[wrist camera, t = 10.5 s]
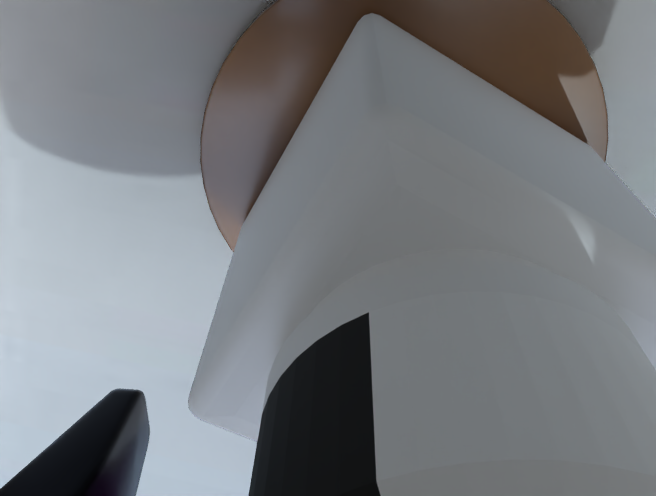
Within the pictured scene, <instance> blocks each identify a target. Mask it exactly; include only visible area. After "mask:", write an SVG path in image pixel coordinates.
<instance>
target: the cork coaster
mask: <svg viewBox="0 0 656 496" xmlns="http://www.w3.org/2000/svg"><path fill="white" fill-rule="evenodd" d="M370 13H373V14H377V15H380V16H382V17H383V18H385V19H387V20H388V21H390V22H392V23H393V24H395V25H396V26H398V27H400V28H401V29H403V30H404V31H406V32H408V33H409V34H411V35H412V36H414V37H416V38H417V39H419V40H420V41H422V42H424V43H425V44H427V45H429V46H430V47H432V48H433V49H435V50H437V51H438V52H440V53H441V54H443V55H445V56H446V57H448V58H449V59H451V60H453V61H454V62H456V63H457V64H459V65H461V66H462V67H464V68H466V69H467V70H469V71H470V72H472V73H474V74H475V75H477V76H478V77H480V78H482V79H483V80H485V81H486V82H488V83H490V84H491V85H493V86H494V87H496V88H498V89H499V90H501V91H503V92H504V93H506V94H507V95H509V96H511V97H512V98H514V99H515V100H517V101H519V102H520V103H522V104H523V105H525V106H527V107H528V108H530V109H531V110H533V111H535V112H536V113H538V114H539V115H541V116H543V117H544V118H546V119H548V120H549V121H551V122H552V123H554V124H556V125H557V126H559V127H560V128H562V129H564V130H565V131H567V132H568V133H570V134H572V135H573V136H575V137H576V138H578V139H580V140H581V141H583V142H585V143H586V144H588V145H589V146H591V147H592V148H593V149H594V150H595V152H596V153H597V154H598V155H599V156H600V157H601V158H602V159H603V160H604V162H605V160H606V152H607V144H608V117H607V109H606V103H605V98H604V92H603V87H602V84H601V82H600V79H599V76H598V73H597V70H596V67H595V64H594V62H593V60H592V58H591V56H590V54H589V52H588V51H587V49H586V47H585V45H584V43H583V41H582V39H581V38H580V37H579V35H578V34H577V33H576V31H575V30H574V29H573V27H572V26H571V25H570V23H569V22H568V21H567V20H566V18H565V17H564V16H563V15H562V14H561V13H560V12H559V11H558V10H557V9H556V8H555V7H554V6H553V5H552V4H550V3H549V2H548V1H547V0H276V1H275V2H274V3H272V4H271V5H270V6H269V7H268V8H267V9H266V10H264V11H263V12H262V13H261V14H260V15H259V16H258V17H257V18H256V19H255V20H254V22H253V23H252V24H251V25H250V26H249V27H248V28H247V30H246V31H245V32H244V33H243V34H242V35H241V37H240V38H239V40H238V41H237V43H236V44H235V46H234V47H233V49H232V50H231V52H230V53H229V55H228V56H227V58H226V59H225V61H224V63H223V65H222V67H221V69H220V71H219V73H218V75H217V78H216V80H215V82H214V84H213V86H212V89H211V92H210V95H209V99H208V102H207V105H206V109H205V112H204V118H203V125H202V132H201V152H200V163H201V170H202V178H203V185H204V189H205V192H206V196H207V200H208V203H209V207H210V210H211V212H212V214H213V217H214V219H215V221H216V223H217V226H218V228H219V230H220V232H221V233H222V235H223V237H224V238H225V240H226V242H227V243H228V245H229V247H230V248H231V250H232V251H233V252H234V249H235V246H236V243H237V240H238V237H239V233H240V230H241V227H242V225H243V223H244V221H245V220H246V218H247V216H248V214H249V213H250V211H251V209H252V207H253V206H254V204H255V202H256V200H257V198H258V197H259V195H260V193H261V191H262V190H263V188H264V186H265V184H266V183H267V181H268V179H269V177H270V176H271V174H272V172H273V170H274V168H275V167H276V165H277V163H278V161H279V160H280V158H281V156H282V154H283V153H284V151H285V149H286V147H287V146H288V144H289V142H290V140H291V139H292V137H293V135H294V133H295V131H296V130H297V128H298V126H299V124H300V123H301V121H302V119H303V117H304V116H305V114H306V112H307V110H308V109H309V107H310V105H311V103H312V101H313V100H314V98H315V96H316V94H317V93H318V91H319V89H320V87H321V86H322V84H323V82H324V80H325V79H326V77H327V75H328V73H329V72H330V70H331V68H332V66H333V64H334V63H335V61H336V59H337V57H338V56H339V54H340V52H341V50H342V49H343V47H344V45H345V43H346V42H347V40H348V38H349V36H350V34H351V33H352V31H353V29H354V27H355V26H356V24H357V22H358V21H359V20H360V19H361V18H362V17H363V16H364V15H367V14H370Z"/></svg>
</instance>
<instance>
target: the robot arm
mask: <svg viewBox="0 0 656 496" xmlns="http://www.w3.org/2000/svg"><path fill="white" fill-rule="evenodd" d="M149 435H150V427H149V420H148V414H147V407H146V401H145V396H144V394H143V392H142V391H140V390H133V389H115V390H113V391H111V392H110V393H109V394H108V395H106V396H105V397H104V398H103V399H102V400H101V401H100V402H98V403H97V404H96V405H95V406H94V407H93V408H92V409H91V410H89V411H88V412H87V413H86V414H85V415H84V416H83V417H81V418H80V419H79V420H78V421H77V422H76V423H75V424H73V425H72V426H71V427H70V428H69V429H68V430H67V431H66V432H64V433H63V434H62V435H61V436H60V437H59V438H58V439H56V440H55V441H54V442H53V443H52V444H51V445H50V446H49V447H47V448H46V449H45V450H44V451H43V452H42V453H41V454H39V455H38V456H37V457H36V458H35V459H34V460H33V461H31V462H30V463H29V464H28V465H27V466H26V467H25V468H24V469H22V470H21V471H20V472H19V473H18V474H17V475H16V476H14V477H13V478H12V479H11V480H10V481H9V482H8V483H7V484H5V485H4V486H3V487H2V488H1V489H0V496H136V492H137V488H138V484H139V480H140V476H141V472H142V467H143V463H144V459H145V455H146V451H147V447H148V442H149Z"/></svg>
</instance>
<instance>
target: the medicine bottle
mask: <svg viewBox="0 0 656 496" xmlns="http://www.w3.org/2000/svg"><path fill="white" fill-rule="evenodd" d="M188 403H189V409H190V411H191V413H192V414H193V415H194V416H195V417H197V418H198V419H200V420H202V421H205V422H207V423H210V424H212V425H215V426H218V427H220V428H223V429H225V430H228V431H230V432H233V433H235V434H238V435H241V436H243V437H246V438H248V439H251V440H253V441H256V442H257V448H256V454H255V460H254V466H253V472H252V478H251V484H250V490H249V496H656V218H655V217H654V216H653V215H652V214H651V213H650V212H649V210H648V209H647V208H646V207H645V206H644V205H643V204H642V203H641V202H640V200H639V199H638V198H637V197H636V196H635V195H634V194H633V193H632V192H631V190H630V189H629V188H628V187H627V186H626V185H625V184H624V183H623V182H622V180H621V179H620V178H619V177H618V176H617V175H616V174H615V173H614V172H613V170H612V169H611V168H610V167H609V166H608V165H607V164H606V163H605V162H604V160H603V159H602V158H601V157H600V156H599V155H598V154H597V153H596V152H595V150H594V149H593V148H592V147H591V146H589V145H588V144H586V143H585V142H583V141H581V140H580V139H578V138H576V137H575V136H573V135H572V134H570V133H568V132H567V131H565V130H564V129H562V128H560V127H559V126H557V125H556V124H554V123H552V122H551V121H549V120H548V119H546V118H544V117H543V116H541V115H539V114H538V113H536V112H535V111H533V110H531V109H530V108H528V107H527V106H525V105H523V104H522V103H520V102H519V101H517V100H515V99H514V98H512V97H511V96H509V95H507V94H506V93H504V92H503V91H501V90H499V89H498V88H496V87H494V86H493V85H491V84H490V83H488V82H486V81H485V80H483V79H482V78H480V77H478V76H477V75H475V74H474V73H472V72H470V71H469V70H467V69H466V68H464V67H462V66H461V65H459V64H457V63H456V62H454V61H453V60H451V59H449V58H448V57H446V56H445V55H443V54H441V53H440V52H438V51H437V50H435V49H433V48H432V47H430V46H429V45H427V44H425V43H424V42H422V41H420V40H419V39H417V38H416V37H414V36H412V35H411V34H409V33H408V32H406V31H404V30H403V29H401V28H400V27H398V26H396V25H395V24H393V23H392V22H390V21H388V20H387V19H385V18H383V17H382V16H380V15H377V14H373V13H370V14H367V15H364V16H363V17H362V18H361V19H360V20H359V21H358V22H357V24H356V26H355V27H354V29H353V31H352V33H351V34H350V36H349V38H348V40H347V42H346V43H345V45H344V47H343V49H342V50H341V52H340V54H339V56H338V57H337V59H336V61H335V63H334V64H333V66H332V68H331V70H330V72H329V73H328V75H327V77H326V79H325V80H324V82H323V84H322V86H321V87H320V89H319V91H318V93H317V94H316V96H315V98H314V100H313V101H312V103H311V105H310V107H309V109H308V110H307V112H306V114H305V116H304V117H303V119H302V121H301V123H300V124H299V126H298V128H297V130H296V131H295V133H294V135H293V137H292V139H291V140H290V142H289V144H288V146H287V147H286V149H285V151H284V153H283V154H282V156H281V158H280V160H279V161H278V163H277V165H276V167H275V168H274V170H273V172H272V174H271V176H270V177H269V179H268V181H267V183H266V184H265V186H264V188H263V190H262V191H261V193H260V195H259V197H258V198H257V200H256V202H255V204H254V206H253V207H252V209H251V211H250V213H249V214H248V216H247V218H246V220H245V221H244V223H243V225H242V227H241V230H240V233H239V237H238V240H237V243H236V246H235V249H234V253H233V256H232V259H231V262H230V265H229V269H228V272H227V275H226V278H225V282H224V285H223V288H222V291H221V294H220V298H219V301H218V304H217V307H216V311H215V314H214V317H213V320H212V323H211V327H210V330H209V333H208V336H207V340H206V343H205V346H204V349H203V352H202V356H201V359H200V362H199V365H198V369H197V372H196V375H195V378H194V381H193V385H192V388H191V391H190V395H189V400H188Z"/></svg>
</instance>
